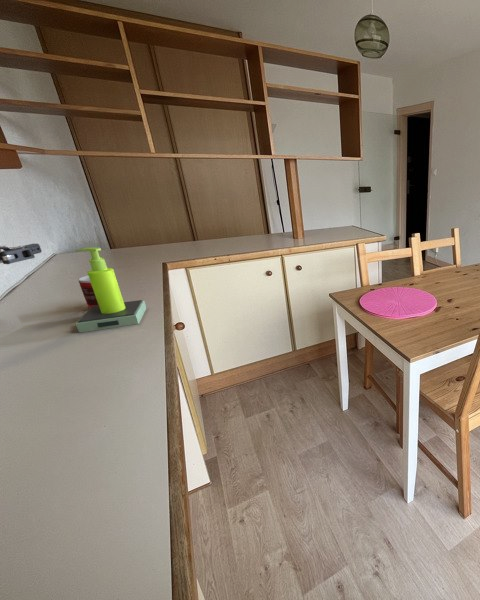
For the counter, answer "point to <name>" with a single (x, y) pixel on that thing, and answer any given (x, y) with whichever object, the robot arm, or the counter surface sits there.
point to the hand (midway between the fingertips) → (18, 247)
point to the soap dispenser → (104, 283)
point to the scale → (111, 317)
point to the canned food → (88, 291)
